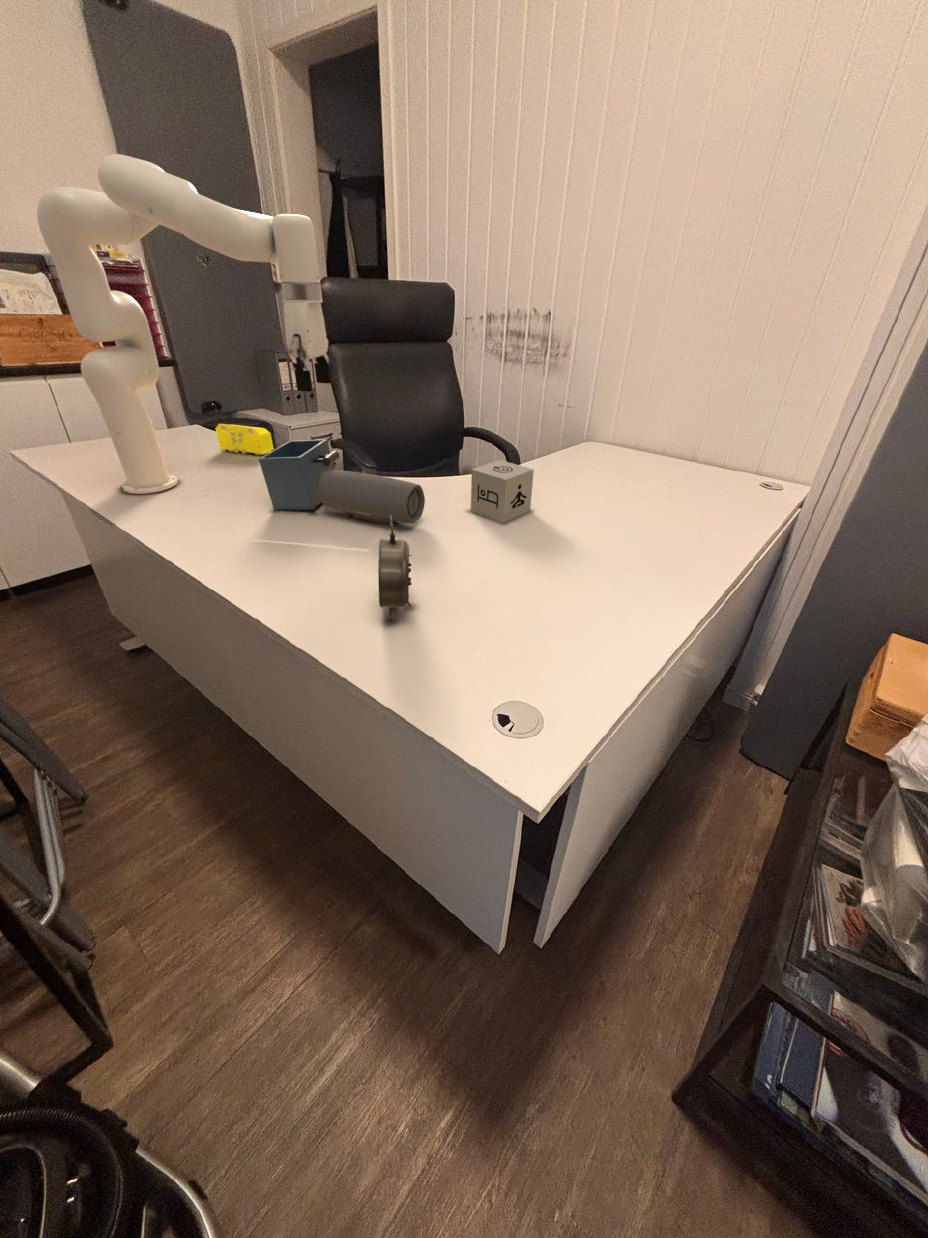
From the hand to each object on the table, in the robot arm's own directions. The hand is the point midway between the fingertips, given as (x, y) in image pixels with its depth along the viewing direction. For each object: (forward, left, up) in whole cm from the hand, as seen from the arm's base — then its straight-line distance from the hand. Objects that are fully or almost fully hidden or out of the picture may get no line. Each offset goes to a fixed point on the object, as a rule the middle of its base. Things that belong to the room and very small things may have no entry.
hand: (314, 386), depth 110 cm
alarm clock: (+46, -27, -26) cm, 59 cm away
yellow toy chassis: (-51, +12, -26) cm, 58 cm away
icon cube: (+38, +19, -26) cm, 49 cm away
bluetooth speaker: (+16, -2, -26) cm, 31 cm away
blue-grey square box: (-9, -6, -20) cm, 22 cm away
